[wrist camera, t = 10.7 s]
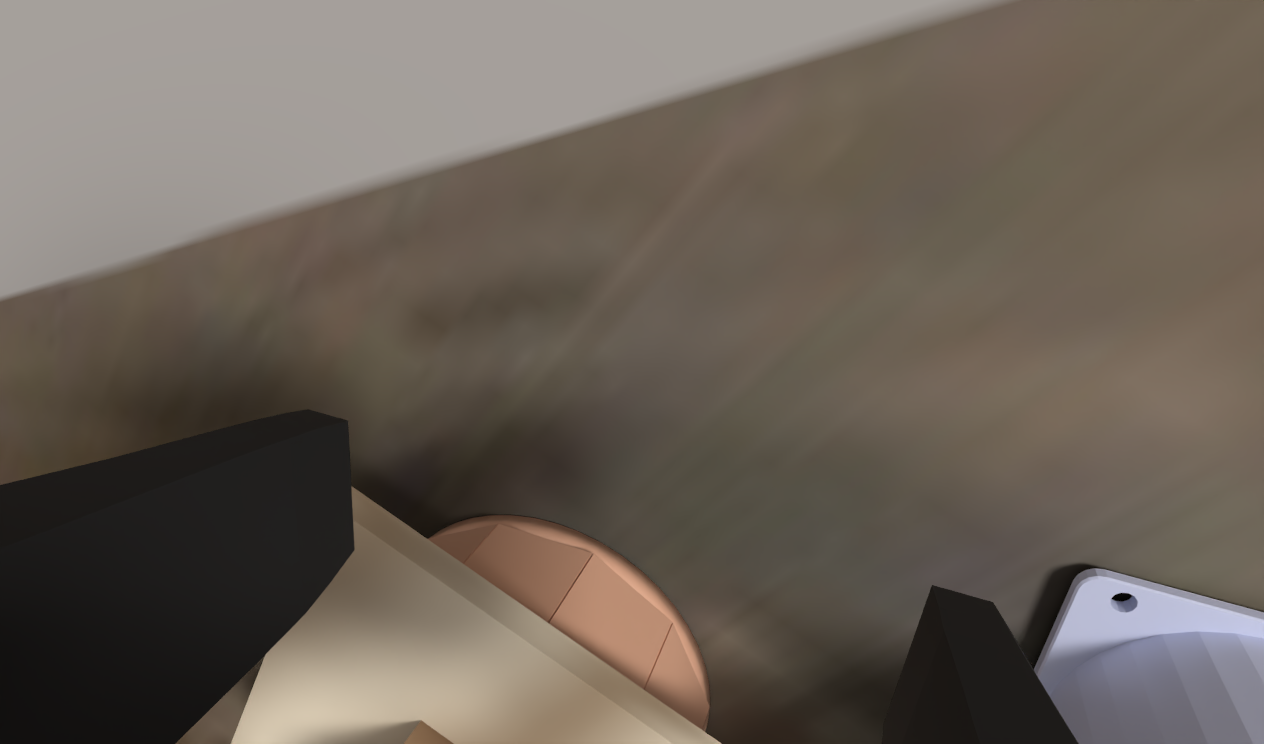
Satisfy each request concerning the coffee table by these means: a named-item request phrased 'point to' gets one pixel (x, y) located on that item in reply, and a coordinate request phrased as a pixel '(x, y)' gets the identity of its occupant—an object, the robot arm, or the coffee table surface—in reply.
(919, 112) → the coffee table surface
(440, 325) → the coffee table surface
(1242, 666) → the robot arm
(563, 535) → the bowl
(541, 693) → the cover board
